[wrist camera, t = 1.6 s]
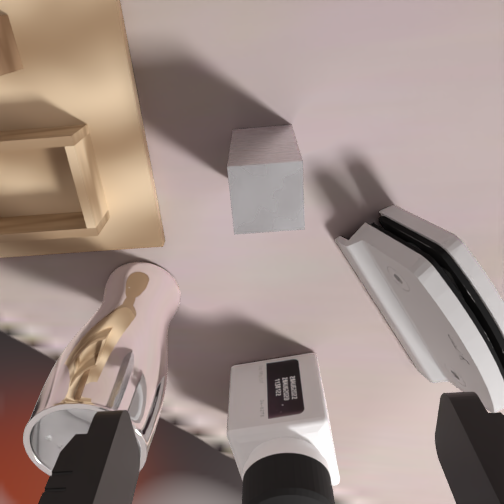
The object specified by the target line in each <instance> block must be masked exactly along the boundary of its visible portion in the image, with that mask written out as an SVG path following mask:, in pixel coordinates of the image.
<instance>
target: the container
mask: <svg viewBox="0 0 504 504" xmlns="http://www.w3.org/2000/svg"><path fill="white" fill-rule="evenodd" d="M227 438H228V440H229V443H230V446H231V449H232V452H233V455H234V458H235V461H236V463H237V466H238V469H239V472H240V475H241V477H242V481H243V491H242V494H243V495H242V504H335V502H334V496H333V489H332V486H333V485H337V484H338V483H339V482H340V477H339V471H338V466H337V460H336V454H335V449H334V443H333V437H332V432H331V426H330V420H329V415H328V410H327V404H326V399H325V394H324V389H323V384H322V379H321V374H320V368H319V363H318V358H317V355H316V354H315V353H307V354H300V355H294V356H288V357H282V358H276V359H270V360H264V361H258V362H251V363H245V364H239V365H234V366H232V367H231V372H230V387H229V403H228V419H227Z"/></svg>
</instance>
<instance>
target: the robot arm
mask: <svg viewBox="0 0 504 504" xmlns="http://www.w3.org/2000/svg"><path fill="white" fill-rule="evenodd" d="M435 444H436V450H437V455H438V458H439V461H440V464H441V466H442V469H443V471H444V474H445V476H446V479H447V481H448V484H449V486H450V489H451V491H452V494H453V496H454V499H455V501H456V504H504V415H503V414H502V413H488V412H487V410H486V409H485V407H484V405H483V403H482V402H481V400H480V398H479V396H478V395H477V394H476V393H475V392H457V393H443V394H442V395H441V398H440V405H439V411H438V418H437V425H436V431H435ZM139 470H140V451H139V446H138V443H137V439H136V436H135V432H134V429H133V425H132V422H131V419H130V415H129V413H128V411H127V410H115V411H98V412H97V413H96V414H95V415H94V417H93V420H92V422H91V425H90V427H89V430H88V433H87V434H75V436H74V437H73V438H72V439H71V440H70V441H69V442H68V444H67V445H66V446H65V447H64V448H63V449H62V451H61V452H60V454H59V456H58V458H57V461H56V463H55V466H54V468H53V470H52V475H51V476H50V477H49V480H48V482H47V484H46V487H45V492H44V493H43V494H42V496H41V498H40V501H39V503H38V504H132V500H133V496H134V492H135V488H136V484H137V479H138V475H139Z"/></svg>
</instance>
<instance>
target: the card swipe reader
mask: <svg viewBox="0 0 504 504" xmlns="http://www.w3.org/2000/svg"><path fill="white" fill-rule="evenodd" d="M379 212H380V214H381V217H380V218H379V221H380V223H381V224H382V226H383V228H382V227H380V226H378V225H377V224H375V223H373V224H371V225H369V224H367V223H366V222H365V223H364V224H363V225H362V226H361V227H360V228H359V229H358V231H357V232H356V233H355V234H354V235H353V236H352V237H351V238H350V239H349V240H347V239H345V238H343V237H342V236H339V237H337V238H336V239H335V241H336V243H337V244H338V246H339V247H340V249H341V250H342V252H343V254H344V255H345V257H346V258H347V260H348V261H349V263H350V265H351V266H352V268H353V269H354V271H355V272H356V274H357V275H358V277H359V279H360V280H361V282H362V283H363V285H364V286H365V288H366V290H367V291H368V293H369V294H370V296H371V297H372V299H373V301H374V302H375V304H376V305H377V307H378V308H379V310H380V311H381V313H382V315H383V316H384V318H385V319H386V321H387V322H388V324H389V326H390V327H391V329H392V330H393V332H394V333H395V335H396V337H397V338H398V340H399V341H400V343H401V344H402V346H403V348H404V349H405V351H406V352H407V354H408V355H409V357H410V358H411V360H412V362H413V363H414V365H415V366H416V368H417V369H418V371H419V372H420V373H421V374H422V375H423V376H424V377H425V378H427V379H428V380H429V381H430V382H432V383H437V382H445V381H448V382H450V383H452V384H453V385H455V386H456V387H457V388H459V389H460V390H461V391H463V392H475V393H476V394H477V395H478V396H479V398H480V400H481V402H482V403H483V405H484V407H485V408H486V409H487V410H488V411H490V412H492V413H495V412H497V411H499V410H501V409H503V408H504V301H503V300H502V298H501V296H500V295H499V293H498V291H497V290H496V288H495V286H494V285H493V283H492V282H491V280H490V279H489V277H488V276H487V274H486V273H485V271H484V270H483V268H482V267H481V266H480V264H479V263H478V261H477V260H476V259H475V257H474V256H473V255H472V253H471V252H470V251H469V249H468V248H467V246H466V245H465V244H464V243H463V242H462V241H461V240H460V239H459V238H458V237H457V236H456V235H454V234H452V233H450V232H448V231H446V230H444V229H442V228H440V227H438V226H436V225H434V224H432V223H430V222H428V221H426V220H424V219H422V218H420V217H418V216H416V215H414V214H412V213H410V212H408V211H405V210H403V209H401V208H399V207H397V206H395V205H392V206H389V207H387V208H385V209H383V210H381V211H379Z"/></svg>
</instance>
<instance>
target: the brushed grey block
mask: <svg viewBox="0 0 504 504" xmlns="http://www.w3.org/2000/svg"><path fill="white" fill-rule="evenodd" d="M227 171H228V181H229V190H230V199H231V208H232V217H233V226H234V234H246V233H261V232H275V231H289V230H303V229H305V223H304V190H303V161H302V157H301V154H300V150H299V147H298V144H297V140H296V137H295V133H294V130H293V127H292V125H281V126H268V127H256V128H243V129H233V132H232V138H231V145H230V151H229V157H228V164H227Z"/></svg>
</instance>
